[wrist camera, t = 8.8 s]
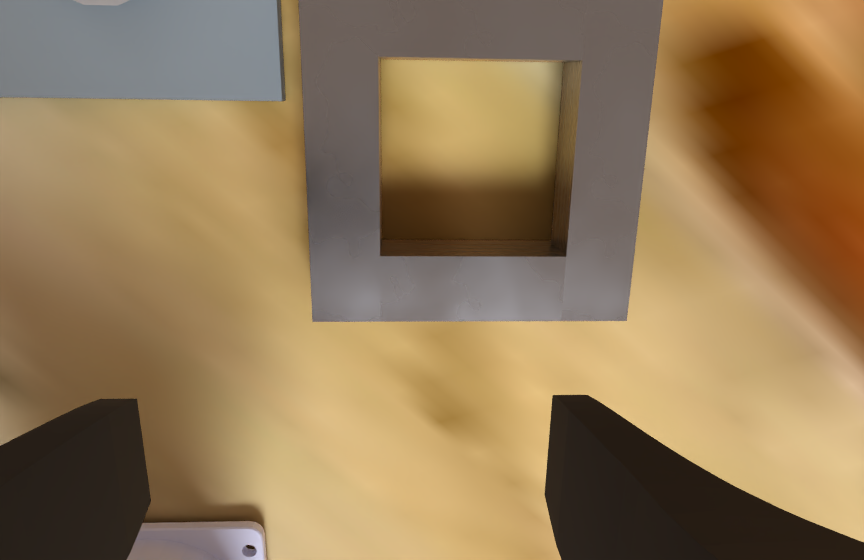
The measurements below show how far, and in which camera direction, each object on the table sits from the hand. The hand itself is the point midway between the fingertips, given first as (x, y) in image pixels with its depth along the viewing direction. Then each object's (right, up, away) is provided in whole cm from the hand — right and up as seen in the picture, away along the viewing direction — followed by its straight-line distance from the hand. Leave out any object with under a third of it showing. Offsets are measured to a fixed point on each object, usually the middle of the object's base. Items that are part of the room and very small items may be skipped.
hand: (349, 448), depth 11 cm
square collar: (+3, +7, +8) cm, 11 cm away
